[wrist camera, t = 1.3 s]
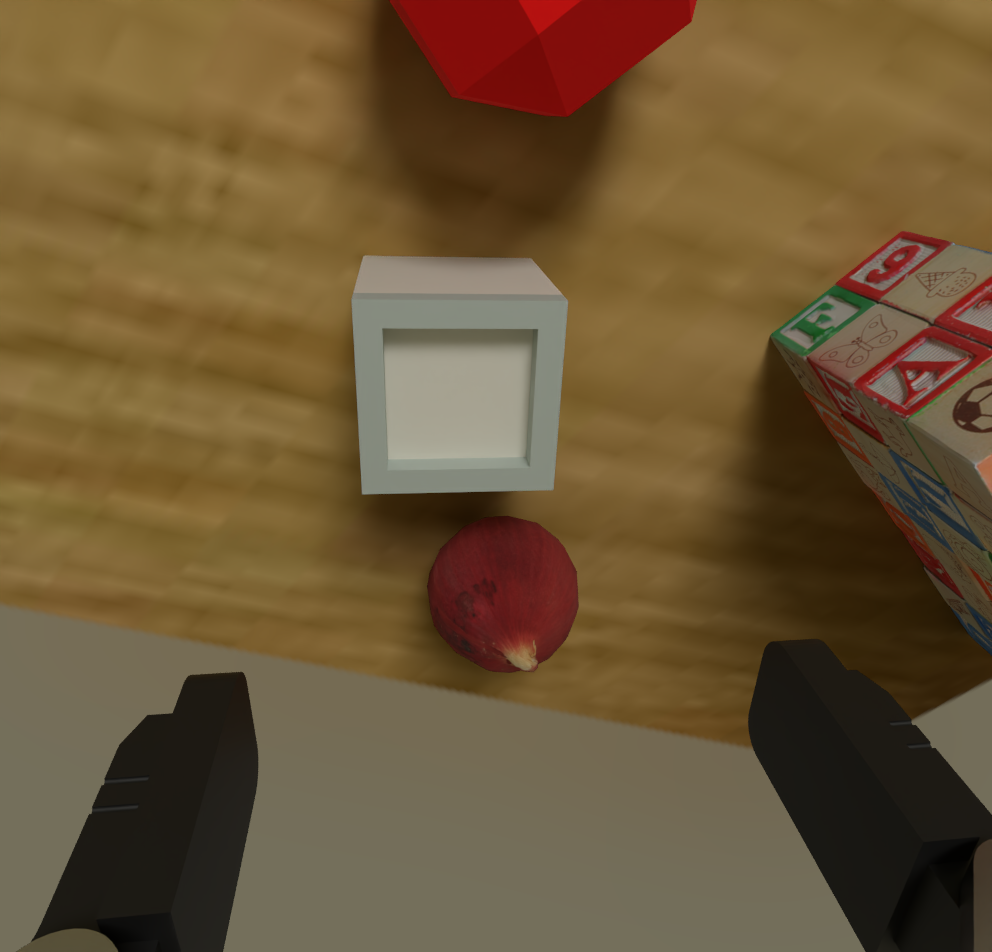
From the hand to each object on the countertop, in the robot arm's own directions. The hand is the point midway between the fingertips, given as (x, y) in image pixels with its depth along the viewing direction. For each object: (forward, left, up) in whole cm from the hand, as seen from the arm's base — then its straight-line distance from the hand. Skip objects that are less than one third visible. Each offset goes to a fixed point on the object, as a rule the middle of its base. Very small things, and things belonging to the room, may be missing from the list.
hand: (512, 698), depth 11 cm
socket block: (0, 0, -19) cm, 19 cm away
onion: (-2, +9, -19) cm, 21 cm away
